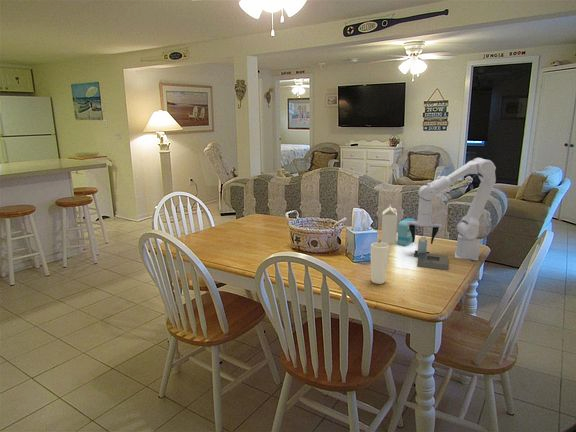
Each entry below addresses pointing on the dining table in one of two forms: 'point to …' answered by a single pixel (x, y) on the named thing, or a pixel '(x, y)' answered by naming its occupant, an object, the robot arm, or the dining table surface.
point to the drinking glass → (379, 262)
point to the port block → (433, 261)
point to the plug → (422, 245)
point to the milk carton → (389, 226)
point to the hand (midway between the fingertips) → (422, 242)
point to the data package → (404, 233)
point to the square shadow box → (417, 253)
